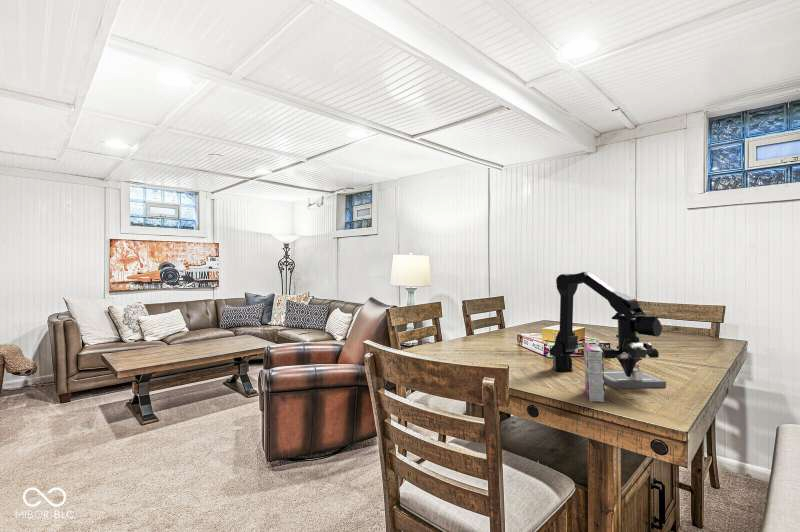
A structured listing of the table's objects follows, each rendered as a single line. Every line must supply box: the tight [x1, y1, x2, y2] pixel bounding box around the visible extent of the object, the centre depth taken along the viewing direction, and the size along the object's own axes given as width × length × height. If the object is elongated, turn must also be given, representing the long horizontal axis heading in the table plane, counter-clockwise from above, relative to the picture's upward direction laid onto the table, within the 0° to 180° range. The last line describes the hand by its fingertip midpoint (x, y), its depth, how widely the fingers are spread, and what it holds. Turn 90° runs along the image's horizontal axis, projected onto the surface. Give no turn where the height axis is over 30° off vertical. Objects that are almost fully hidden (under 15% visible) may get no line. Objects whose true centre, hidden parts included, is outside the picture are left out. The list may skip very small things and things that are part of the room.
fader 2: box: [630, 369, 644, 381], centre depth 142 cm, size 2×4×3 cm
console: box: [604, 369, 667, 389], centre depth 147 cm, size 18×16×2 cm
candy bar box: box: [583, 343, 606, 404], centre depth 131 cm, size 11×5×16 cm, turn 160°
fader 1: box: [634, 362, 640, 370], centre depth 152 cm, size 2×4×3 cm
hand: (628, 376), depth 142 cm, fingers closed
